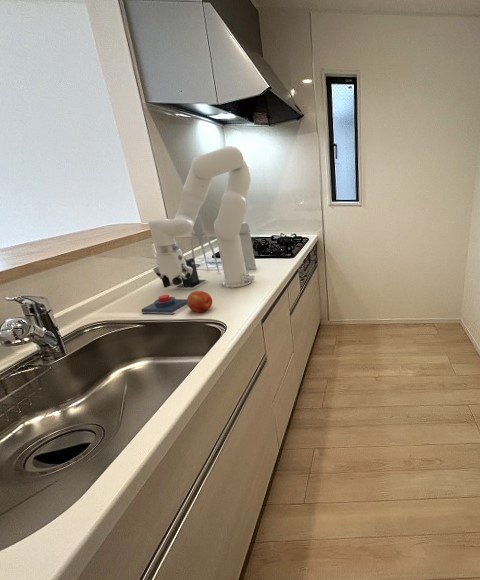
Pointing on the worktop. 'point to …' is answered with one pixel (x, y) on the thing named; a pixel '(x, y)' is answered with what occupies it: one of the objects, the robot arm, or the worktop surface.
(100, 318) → the worktop surface
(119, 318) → the worktop surface
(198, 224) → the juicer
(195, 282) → the bracket
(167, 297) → the button
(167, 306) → the button box
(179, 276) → the lever
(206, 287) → the worktop surface
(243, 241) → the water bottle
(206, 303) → the apple
